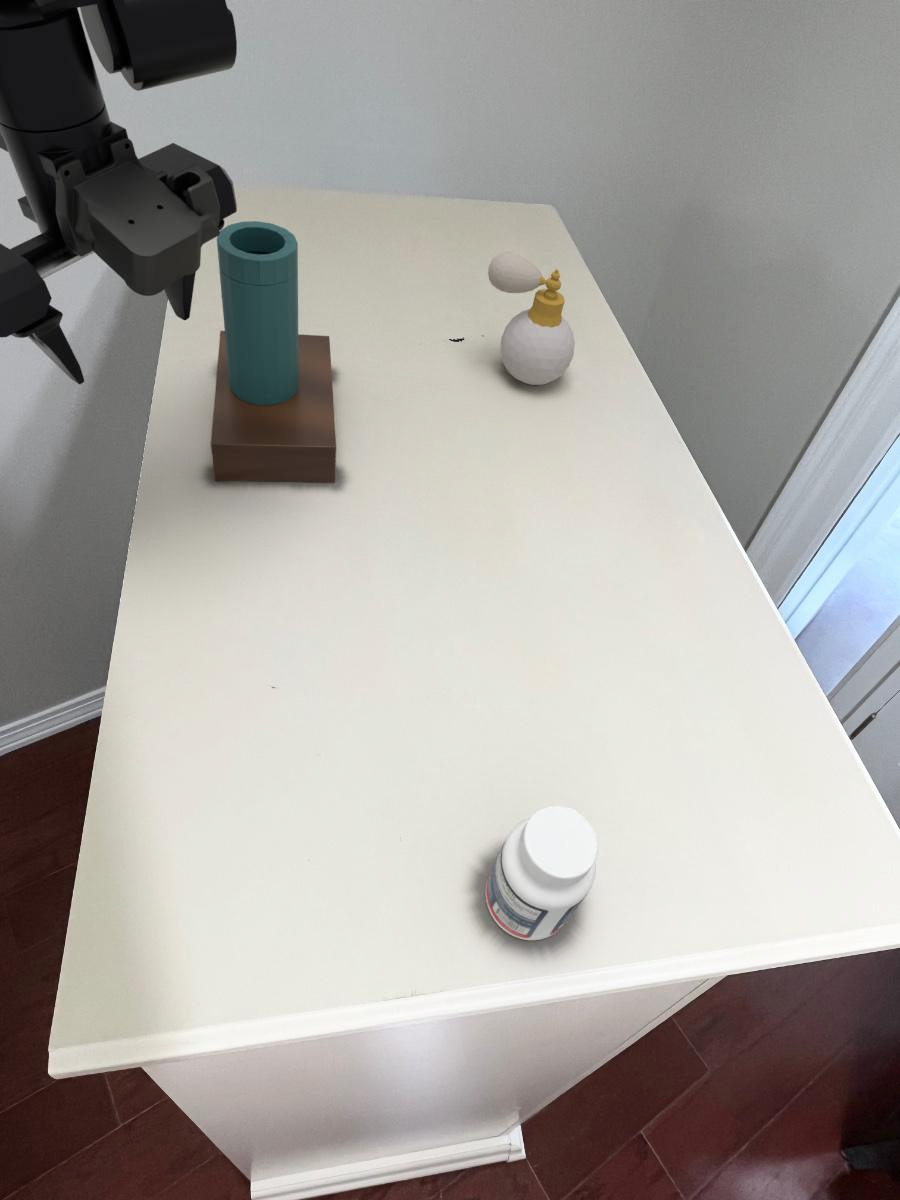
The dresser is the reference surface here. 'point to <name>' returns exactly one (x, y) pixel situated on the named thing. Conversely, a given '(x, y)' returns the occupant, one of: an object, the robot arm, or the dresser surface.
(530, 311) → the perfume bottle
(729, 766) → the dresser surface
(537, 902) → the pill bottle
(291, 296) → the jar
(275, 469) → the brown wooden pedestal
